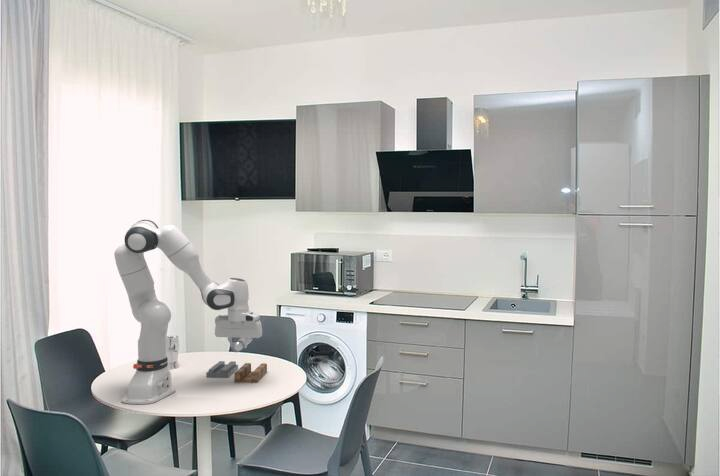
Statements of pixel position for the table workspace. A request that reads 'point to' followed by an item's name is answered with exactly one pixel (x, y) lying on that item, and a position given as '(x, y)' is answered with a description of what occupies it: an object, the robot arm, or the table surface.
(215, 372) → the v block
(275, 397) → the table surface
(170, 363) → the beer glass
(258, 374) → the wooden channel cradle
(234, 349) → the axle
